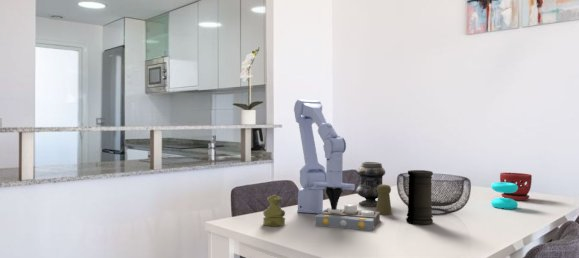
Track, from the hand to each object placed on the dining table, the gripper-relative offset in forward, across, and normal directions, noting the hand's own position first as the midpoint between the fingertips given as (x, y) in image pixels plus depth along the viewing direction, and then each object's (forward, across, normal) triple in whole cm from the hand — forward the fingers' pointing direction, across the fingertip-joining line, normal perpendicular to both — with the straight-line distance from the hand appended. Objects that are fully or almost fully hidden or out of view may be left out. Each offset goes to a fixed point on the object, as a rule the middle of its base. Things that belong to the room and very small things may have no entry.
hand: (334, 209), depth 160 cm
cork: (+4, +15, +18) cm, 24 cm away
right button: (+4, +12, 0) cm, 13 cm away
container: (+4, +29, +7) cm, 30 cm away
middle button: (+2, +6, 0) cm, 6 cm away
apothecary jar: (+4, +7, +35) cm, 36 cm away
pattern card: (+4, +6, -9) cm, 11 cm away
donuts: (+4, +60, +50) cm, 78 cm away
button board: (+4, +6, 0) cm, 7 cm away
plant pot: (+4, +67, +75) cm, 101 cm away
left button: (+3, 0, 0) cm, 3 cm away
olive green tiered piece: (+4, -17, -15) cm, 23 cm away
